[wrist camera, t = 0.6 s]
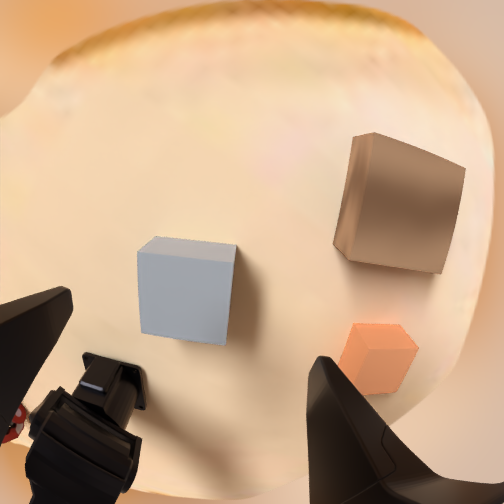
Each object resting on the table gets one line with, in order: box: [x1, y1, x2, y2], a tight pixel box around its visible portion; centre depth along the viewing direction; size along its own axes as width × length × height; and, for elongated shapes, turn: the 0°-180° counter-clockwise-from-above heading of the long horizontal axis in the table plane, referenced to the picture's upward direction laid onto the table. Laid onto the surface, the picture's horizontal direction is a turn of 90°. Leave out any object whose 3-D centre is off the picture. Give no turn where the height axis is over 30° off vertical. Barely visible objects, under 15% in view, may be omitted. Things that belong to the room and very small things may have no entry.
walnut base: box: [333, 132, 466, 274], centre depth 18 cm, size 8×8×4 cm
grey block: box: [137, 236, 236, 345], centre depth 19 cm, size 6×6×4 cm
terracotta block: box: [338, 323, 419, 395], centre depth 21 cm, size 5×5×4 cm
